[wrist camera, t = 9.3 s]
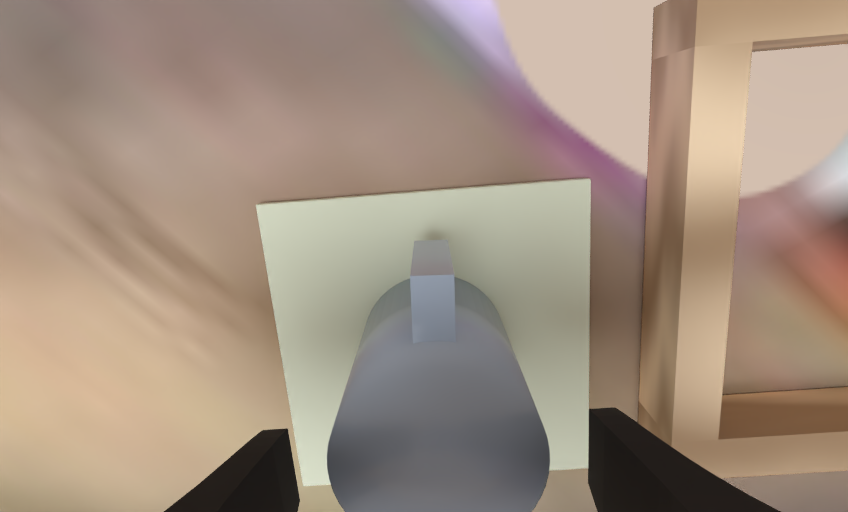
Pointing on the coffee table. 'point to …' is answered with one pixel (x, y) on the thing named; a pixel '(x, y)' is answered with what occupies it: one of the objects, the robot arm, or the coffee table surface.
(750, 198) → the coffee table surface
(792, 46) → the frame
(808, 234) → the coffee table surface
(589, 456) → the robot arm
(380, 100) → the coffee table surface
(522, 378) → the grey rounded cylinder
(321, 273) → the sage mat
